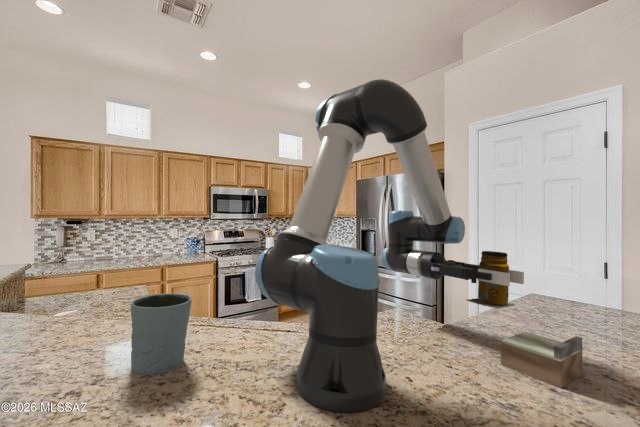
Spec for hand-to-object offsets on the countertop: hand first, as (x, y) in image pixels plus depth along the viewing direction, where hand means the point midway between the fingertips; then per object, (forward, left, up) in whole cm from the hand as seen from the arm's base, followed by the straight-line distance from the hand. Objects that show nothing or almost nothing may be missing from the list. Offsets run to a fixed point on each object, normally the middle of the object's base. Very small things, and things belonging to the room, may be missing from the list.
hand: (516, 278), depth 64 cm
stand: (0, -5, -17) cm, 18 cm away
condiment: (-1, +5, -7) cm, 8 cm away
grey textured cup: (-66, +32, -18) cm, 76 cm away
